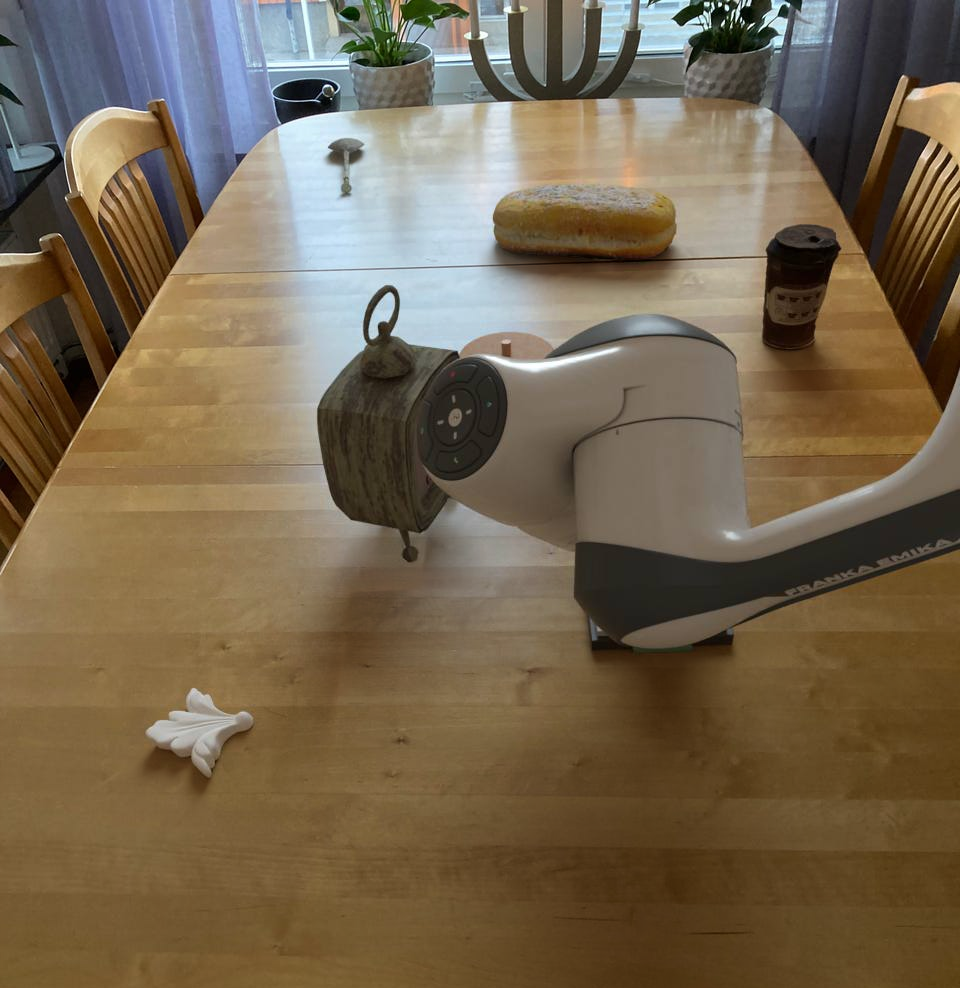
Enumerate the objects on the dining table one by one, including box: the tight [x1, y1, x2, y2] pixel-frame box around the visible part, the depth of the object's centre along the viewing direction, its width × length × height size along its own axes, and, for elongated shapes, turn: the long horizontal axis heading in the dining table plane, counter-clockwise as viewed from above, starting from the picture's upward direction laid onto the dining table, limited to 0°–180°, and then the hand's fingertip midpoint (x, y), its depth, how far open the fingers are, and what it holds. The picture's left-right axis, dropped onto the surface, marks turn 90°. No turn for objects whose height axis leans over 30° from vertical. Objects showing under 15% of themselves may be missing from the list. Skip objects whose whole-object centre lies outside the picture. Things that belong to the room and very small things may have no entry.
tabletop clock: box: [316, 284, 460, 563], centre depth 94 cm, size 14×9×25 cm, turn 160°
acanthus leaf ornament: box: [145, 687, 254, 779], centre depth 83 cm, size 8×7×2 cm
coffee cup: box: [761, 223, 842, 350], centre depth 119 cm, size 9×8×13 cm
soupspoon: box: [327, 137, 365, 194], centre depth 172 cm, size 22×3×7 cm
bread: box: [492, 183, 678, 261], centre depth 143 cm, size 13×26×8 cm, turn 77°
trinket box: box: [458, 331, 555, 360], centre depth 112 cm, size 11×11×9 cm
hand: (650, 526), depth 81 cm, fingers open, 8 cm apart
